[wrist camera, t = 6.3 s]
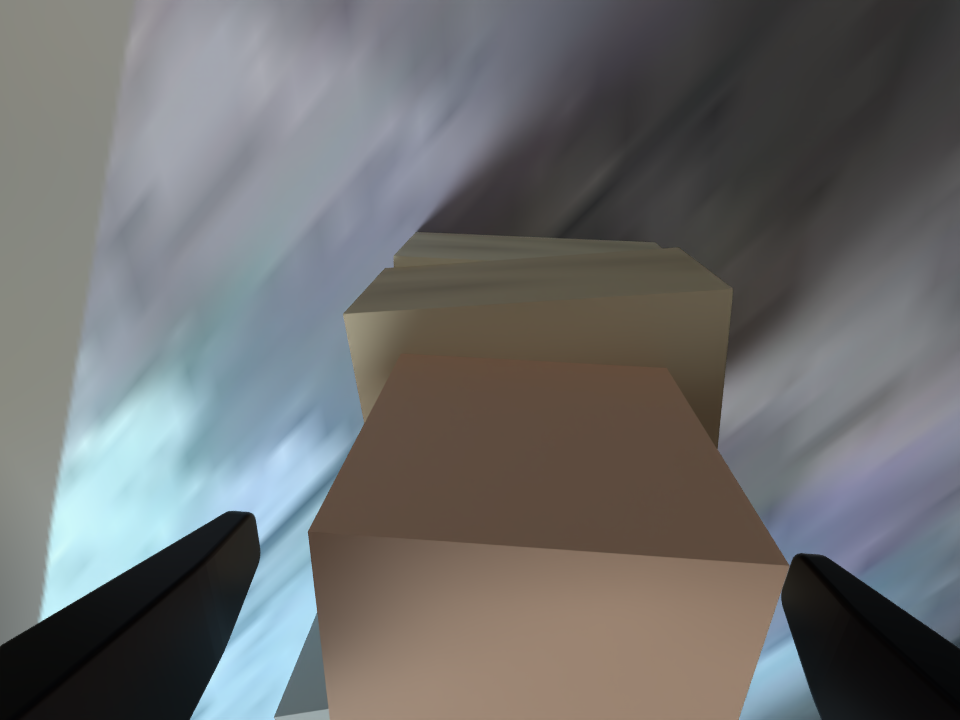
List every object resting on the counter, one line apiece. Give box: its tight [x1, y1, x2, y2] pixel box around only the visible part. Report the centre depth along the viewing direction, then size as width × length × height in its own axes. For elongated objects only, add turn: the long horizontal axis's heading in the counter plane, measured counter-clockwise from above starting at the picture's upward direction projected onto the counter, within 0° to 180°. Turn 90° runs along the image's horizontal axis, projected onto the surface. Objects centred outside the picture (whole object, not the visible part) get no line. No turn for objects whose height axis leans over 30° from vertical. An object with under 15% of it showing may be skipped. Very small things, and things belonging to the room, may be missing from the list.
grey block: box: [274, 614, 330, 720], centre depth 21 cm, size 5×5×5 cm
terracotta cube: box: [308, 354, 789, 720], centre depth 9 cm, size 5×5×5 cm
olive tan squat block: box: [394, 232, 662, 268], centre depth 16 cm, size 7×7×4 cm
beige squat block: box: [343, 247, 733, 448], centre depth 13 cm, size 7×7×4 cm
